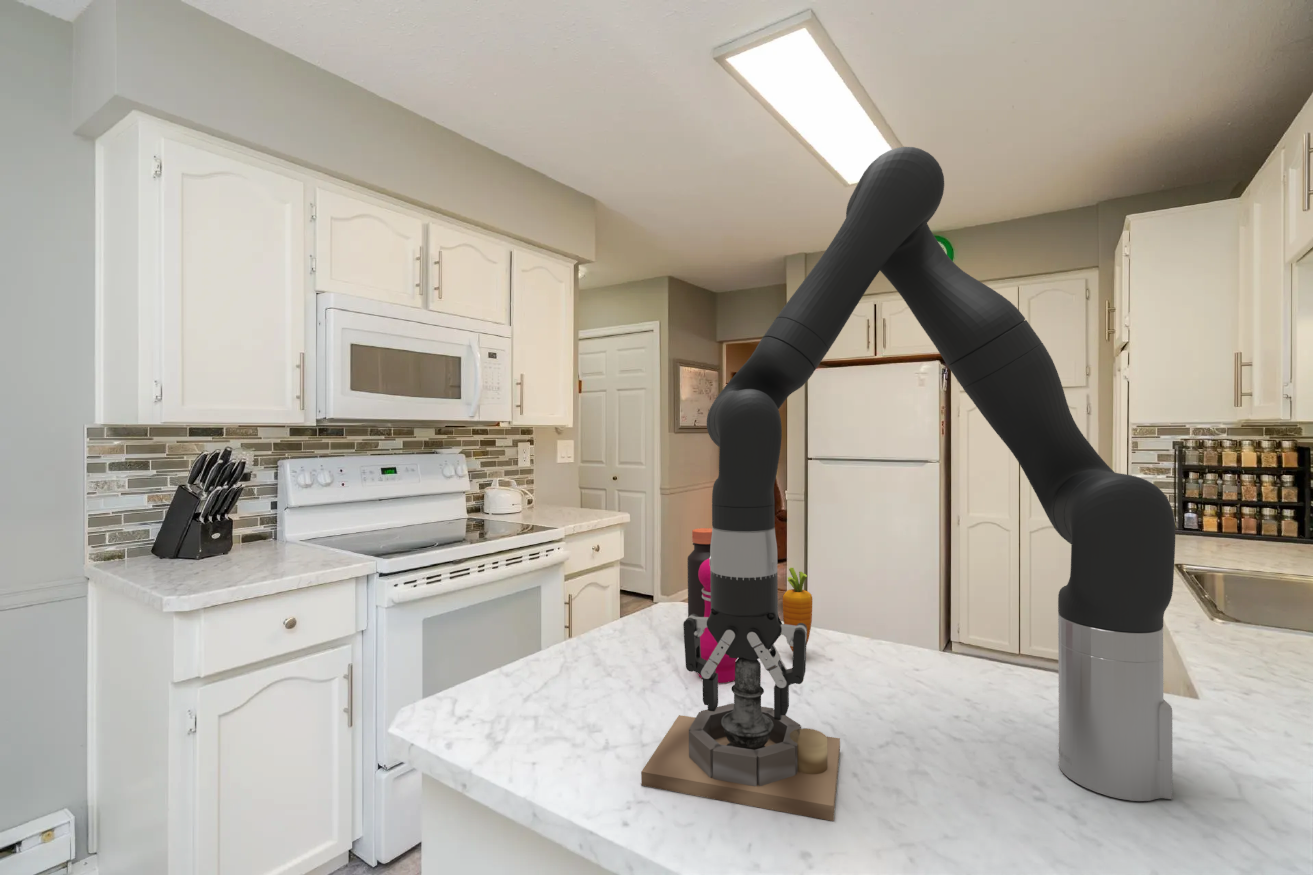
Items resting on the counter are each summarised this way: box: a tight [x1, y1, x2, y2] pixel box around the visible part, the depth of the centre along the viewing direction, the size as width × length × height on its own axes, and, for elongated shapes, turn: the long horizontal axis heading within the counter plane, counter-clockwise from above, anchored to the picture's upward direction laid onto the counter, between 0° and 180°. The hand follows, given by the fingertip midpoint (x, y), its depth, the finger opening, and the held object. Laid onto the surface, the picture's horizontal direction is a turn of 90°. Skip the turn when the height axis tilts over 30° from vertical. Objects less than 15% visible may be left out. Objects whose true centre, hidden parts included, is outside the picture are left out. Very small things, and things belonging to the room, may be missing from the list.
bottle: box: [687, 527, 712, 618], centre depth 114 cm, size 7×7×20 cm
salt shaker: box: [721, 657, 774, 750], centre depth 70 cm, size 6×6×12 cm
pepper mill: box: [698, 558, 738, 684], centre depth 97 cm, size 7×7×20 cm
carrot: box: [782, 567, 813, 653], centre depth 104 cm, size 5×5×15 cm
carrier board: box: [640, 702, 841, 822], centre depth 70 cm, size 20×14×4 cm
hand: (745, 712), depth 70 cm, fingers open, 7 cm apart
